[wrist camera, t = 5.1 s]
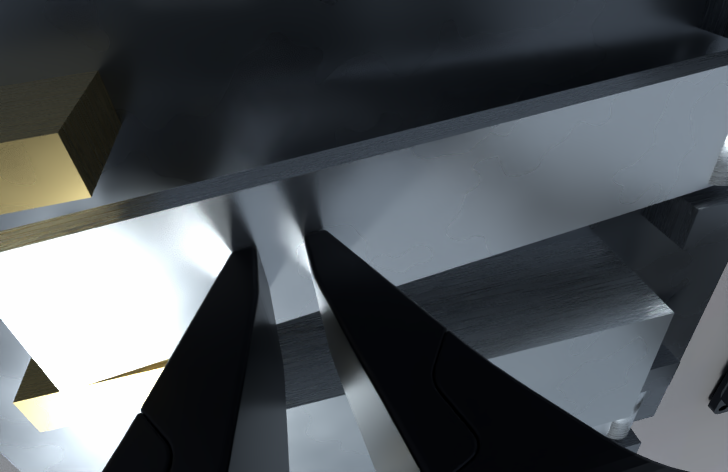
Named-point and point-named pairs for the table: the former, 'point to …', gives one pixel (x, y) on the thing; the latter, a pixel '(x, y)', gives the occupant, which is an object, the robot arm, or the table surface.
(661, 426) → the table surface
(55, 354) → the bar
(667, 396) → the table surface
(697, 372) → the table surface
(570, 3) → the cooler plate
